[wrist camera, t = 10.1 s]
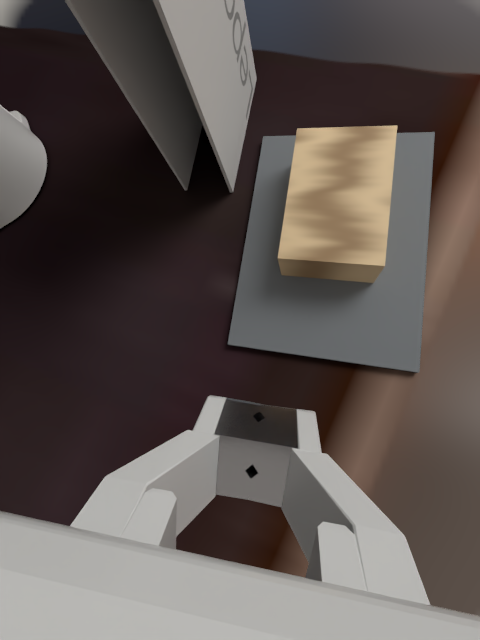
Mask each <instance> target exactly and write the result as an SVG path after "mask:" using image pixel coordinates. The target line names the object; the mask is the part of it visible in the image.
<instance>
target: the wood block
mask: <svg viewBox="0 0 480 640" xmlns="http://www.w3.org/2000/svg"><path fill="white" fill-rule="evenodd" d="M396 136H397V126H367V127H334V128H301V129H297V133H296V140H295V147H294V153H293V160H292V166H291V173H290V180H289V186H288V193H287V199H286V206H285V213H284V219H283V226H282V232H281V239H280V246H279V252H278V262H279V266H280V271H281V275H285V276H297V277H308V278H320V279H332V280H343V281H355V282H367V283H374V282H375V280H376V279H377V277H378V276H379V274H380V273H381V271H382V270H383V268H384V267H385V261H386V249H387V238H388V227H389V215H390V204H391V192H392V181H393V170H394V158H395V147H396Z"/></svg>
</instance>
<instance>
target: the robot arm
mask: <svg viewBox="0 0 480 640" xmlns="http://www.w3.org/2000/svg"><path fill="white" fill-rule="evenodd" d="M46 169H47V156H46V151H45V148H44V146H43V144H42V142H41V141H40V140H39V139H38V138H37V137H36V136H35V135H34V134H33V133H32V132H31V131H30V128H29V124H28V121H27V119H26V118H25V117H24V116H23V115H22V114H20V113H19V112H18V111H12V112H8V111H7V110H6V109H4V108H3V107H2V106H1V105H0V228H2V227H3V226H5V225H7V224H8V223H10V222H12V221H13V220H15V219H16V218H17V217H19V216H20V215H21V214H22V213H23V212H24V211H25V210H26V209H27V208H28V207H29V206H30V205H31V203H32V202H33V201H34V199H35V198H36V196H37V194H38V192H39V191H40V189H41V186H42V184H43V181H44V178H45V174H46ZM215 494H217V495H223V496H229V497H235V498H241V499H247V500H248V499H249V500H252V501H256V502H261V503H265V504H270V505H274V506H279V507H282V511H283V513H284V515H285V517H286V519H287V521H288V523H289V525H290V527H291V528H292V530H293V532H294V534H295V536H296V538H297V540H298V542H299V544H300V546H301V548H302V550H303V552H304V554H305V556H306V558H307V560H308V562H309V565H308V569H307V573H306V578H304V577H299V576H295V575H290V574H285V573H281V572H276V571H272V570H267V569H263V568H258V567H253V566H249V565H244V564H240V563H235V562H231V561H226V560H221V559H217V558H212V557H208V556H203V555H199V554H194V553H189V552H185V551H180V550H176V536H177V535H178V534H179V533H180V532H181V531H182V530H183V529H184V528H185V527H186V526H187V525H188V524H189V523H190V522H191V521H192V520H193V519H194V518H195V517H196V516H197V515H198V514H199V513H200V512H201V511H202V510H203V509H204V507H205V506H206V505H207V504H208V503H209V502H210V501H211V500H212V499H213V498H214V497H215ZM0 640H480V616H477V615H473V614H468V613H463V612H459V611H454V610H450V609H445V608H441V607H435V606H431V605H430V603H429V600H428V598H427V595H426V592H425V589H424V587H423V584H422V581H421V579H420V576H419V573H418V570H417V568H416V565H415V562H414V560H413V557H412V554H411V551H410V549H409V546H408V543H407V541H406V538H405V536H404V535H403V534H402V533H401V531H400V530H399V529H398V528H397V527H396V526H395V525H394V524H393V523H392V522H391V521H390V520H389V519H388V518H387V517H386V516H385V515H384V514H383V512H382V511H381V510H380V509H378V507H377V506H376V505H375V504H374V503H373V502H372V501H371V500H370V499H369V498H368V497H367V496H366V495H365V493H364V492H363V491H362V490H361V489H360V488H359V487H358V486H357V485H356V484H355V483H354V482H353V481H352V480H351V479H350V478H349V477H348V476H347V474H346V473H345V472H344V471H343V470H342V469H341V468H340V467H339V466H338V465H337V464H336V463H335V462H334V461H333V460H332V459H331V458H330V457H329V455H328V454H324V453H321V446H320V440H319V433H318V426H317V420H316V413H315V412H314V411H309V410H300V409H290V408H283V407H276V406H269V405H261V404H259V403H253V402H247V401H242V400H236V399H231V398H225V397H219V396H212V395H210V396H209V397H207V400H206V402H205V404H204V406H203V408H202V411H201V413H200V415H199V417H198V420H197V422H196V424H195V426H194V429H193V431H190V430H187V431H185V432H183V433H181V434H179V435H178V436H176V437H174V438H172V439H171V440H169V441H167V442H165V443H164V444H162V445H160V446H158V447H157V448H155V449H153V450H151V451H149V452H148V453H146V454H144V455H142V456H141V457H139V458H137V459H135V460H134V461H132V462H130V463H128V464H127V465H125V466H123V467H121V468H119V469H118V470H116V471H114V472H112V473H111V474H109V475H107V476H105V478H104V479H103V480H102V482H101V483H100V485H99V486H98V487H97V489H96V490H95V492H94V493H93V495H92V496H91V497H90V499H89V500H88V502H87V503H86V504H85V506H84V507H83V509H82V510H81V511H80V513H79V514H78V516H77V517H76V518H75V520H74V521H73V523H72V524H71V525H70V526H66V525H61V524H57V523H52V522H48V521H43V520H39V519H34V518H29V517H25V516H20V515H16V514H11V513H7V512H2V511H0Z"/></svg>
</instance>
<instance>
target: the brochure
mask: <svg viewBox="0 0 480 640" xmlns="http://www.w3.org/2000/svg"><path fill="white" fill-rule="evenodd" d="M65 1H66V3H67V5H68V6H69V8H70V9H71V11H72V12H73V14H74V16H75V17H76V19H77V20H78V22H79V24H80V25H81V27H82V28H83V30H84V32H85V33H86V35H87V36H88V38H89V39H90V41H91V43H92V44H93V46H94V47H95V49H96V50H97V52H98V54H99V55H100V57H101V58H102V60H103V62H104V63H105V65H106V66H107V68H108V69H109V71H110V73H111V74H112V76H113V77H114V79H115V81H116V82H117V84H118V85H119V87H120V88H121V90H122V92H123V93H124V95H125V96H126V98H127V100H128V101H129V103H130V104H131V106H132V107H133V109H134V111H135V112H136V114H137V115H138V117H139V118H140V120H141V122H142V123H143V125H144V126H145V128H146V130H147V131H148V133H149V134H150V136H151V137H152V139H153V141H154V142H155V144H156V145H157V147H158V149H159V150H160V152H161V153H162V155H163V156H164V158H165V160H166V161H167V163H168V164H169V166H170V168H171V169H172V171H173V172H174V174H175V175H176V177H177V179H178V180H179V182H180V183H181V185H182V186H183V188H184V190H187V189H188V185H189V181H190V176H191V172H192V168H193V164H194V159H195V155H196V151H197V147H198V142H199V138H200V134H201V130H202V125H203V126H204V129H205V131H206V134H207V136H208V139H209V141H210V144H211V146H212V149H213V151H214V154H215V156H216V159H217V161H218V164H219V166H220V169H221V171H222V174H223V176H224V179H225V181H226V184H227V186H228V189H229V191H230V193H231V192H233V190H234V185H235V180H236V175H237V170H238V166H239V161H240V156H241V151H242V146H243V141H244V137H245V132H246V127H247V122H248V117H249V113H250V108H251V103H252V98H253V93H254V89H255V84H256V72H255V66H254V60H253V54H252V48H251V42H250V36H249V30H248V24H247V18H246V12H245V6H244V0H65Z"/></svg>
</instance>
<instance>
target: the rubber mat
mask: <svg viewBox="0 0 480 640" xmlns="http://www.w3.org/2000/svg"><path fill="white" fill-rule="evenodd" d="M434 135H435V132H423V133H397V136H396V147H395V158H394V170H393V181H392V192H391V204H390V215H389V227H388V238H387V249H386V261H385V267H384V268H383V270H382V271H381V273H380V274H379V276H378V277H377V279H376V280H375V282H374V283H367V282H355V281H343V280H332V279H320V278H308V277H297V276H285V275H281V271H280V266H279V262H278V252H279V246H280V239H281V232H282V226H283V219H284V213H285V206H286V199H287V193H288V186H289V180H290V173H291V166H292V160H293V153H294V147H295V140H296V136H263V141H262V147H261V153H260V159H259V165H258V171H257V176H256V182H255V188H254V194H253V200H252V205H251V211H250V217H249V223H248V229H247V234H246V240H245V246H244V252H243V258H242V263H241V269H240V275H239V281H238V287H237V292H236V298H235V304H234V310H233V316H232V322H231V327H230V333H229V339H228V345H232V346H239V347H246V348H253V349H259V350H266V351H273V352H280V353H287V354H293V355H300V356H307V357H314V358H320V359H327V360H334V361H341V362H348V363H354V364H361V365H368V366H375V367H382V368H388V369H395V370H402V371H409V372H416V373H418V372H419V370H420V354H421V338H422V323H423V307H424V292H425V276H426V260H427V245H428V229H429V213H430V198H431V182H432V166H433V151H434Z"/></svg>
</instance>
